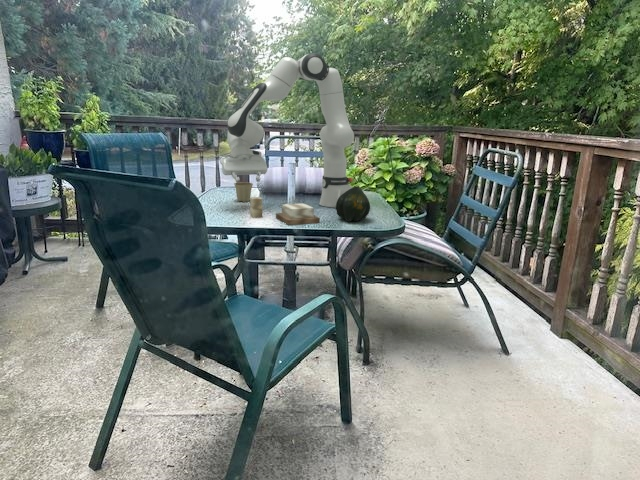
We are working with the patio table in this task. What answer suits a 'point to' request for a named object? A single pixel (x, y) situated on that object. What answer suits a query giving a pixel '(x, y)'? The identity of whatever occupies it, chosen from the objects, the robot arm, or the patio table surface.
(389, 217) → the patio table surface
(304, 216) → the plinth
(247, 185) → the flower pot
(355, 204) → the squash
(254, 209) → the birch block
